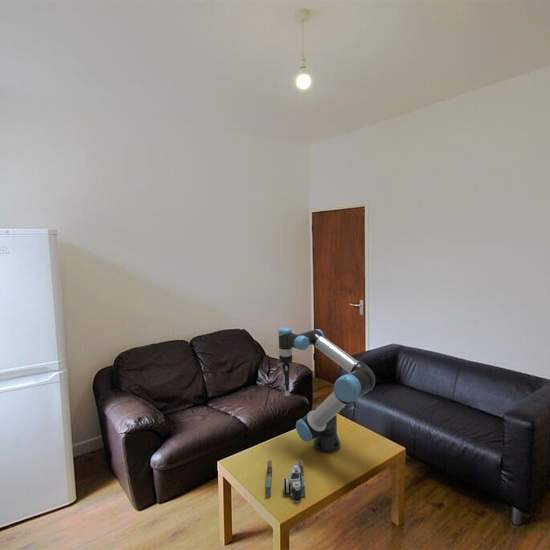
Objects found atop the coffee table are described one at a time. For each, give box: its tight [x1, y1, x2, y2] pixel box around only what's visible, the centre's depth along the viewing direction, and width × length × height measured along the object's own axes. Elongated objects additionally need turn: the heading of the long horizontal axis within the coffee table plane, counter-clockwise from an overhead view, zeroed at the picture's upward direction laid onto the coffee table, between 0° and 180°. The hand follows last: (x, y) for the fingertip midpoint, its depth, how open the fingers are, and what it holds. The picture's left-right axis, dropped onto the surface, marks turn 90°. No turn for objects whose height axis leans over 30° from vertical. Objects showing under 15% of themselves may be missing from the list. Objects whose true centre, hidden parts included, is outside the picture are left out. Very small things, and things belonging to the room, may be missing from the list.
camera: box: [282, 464, 302, 503], centre depth 171 cm, size 16×9×10 cm, turn 179°
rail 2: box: [298, 459, 306, 497], centre depth 177 cm, size 2×20×5 cm, turn 179°
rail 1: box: [265, 459, 273, 498], centre depth 177 cm, size 2×20×5 cm, turn 179°
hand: (286, 390), depth 209 cm, fingers open, 13 cm apart
